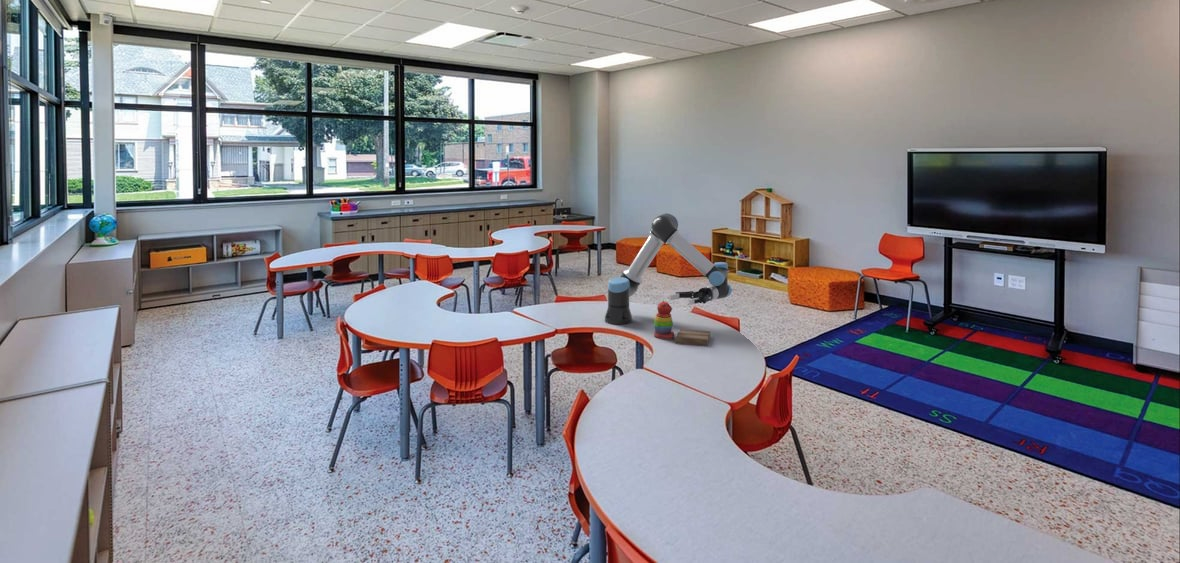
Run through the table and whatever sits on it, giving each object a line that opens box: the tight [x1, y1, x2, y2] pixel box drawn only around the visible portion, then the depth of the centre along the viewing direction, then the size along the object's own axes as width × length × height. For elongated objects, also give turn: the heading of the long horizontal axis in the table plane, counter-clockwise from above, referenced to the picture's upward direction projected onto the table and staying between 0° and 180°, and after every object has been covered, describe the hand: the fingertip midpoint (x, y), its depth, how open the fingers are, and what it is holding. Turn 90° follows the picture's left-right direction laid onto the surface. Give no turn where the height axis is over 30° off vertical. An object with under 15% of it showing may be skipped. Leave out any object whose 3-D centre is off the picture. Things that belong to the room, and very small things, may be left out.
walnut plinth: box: [675, 328, 711, 347], centre depth 300 cm, size 15×15×3 cm
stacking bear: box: [653, 300, 675, 340], centre depth 305 cm, size 11×10×18 cm
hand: (679, 300), depth 309 cm, fingers open, 13 cm apart
